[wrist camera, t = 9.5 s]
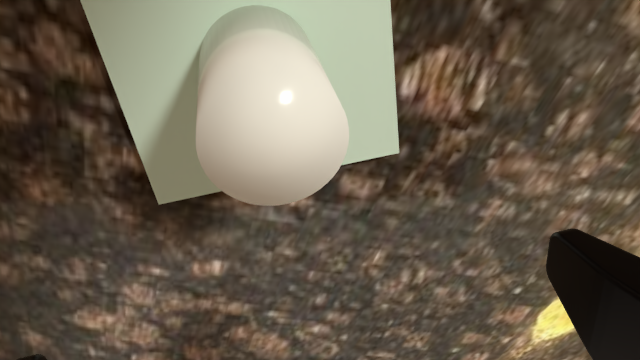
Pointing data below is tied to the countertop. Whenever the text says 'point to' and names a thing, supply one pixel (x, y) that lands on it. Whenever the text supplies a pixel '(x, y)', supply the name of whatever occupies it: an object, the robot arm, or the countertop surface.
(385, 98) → the plate
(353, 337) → the countertop surface
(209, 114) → the ceramic cylinder
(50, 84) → the countertop surface
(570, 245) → the robot arm
